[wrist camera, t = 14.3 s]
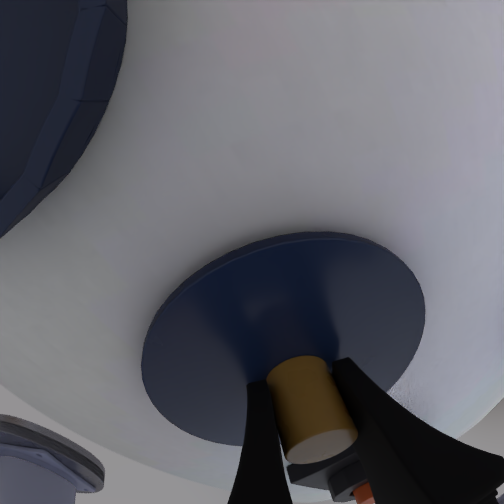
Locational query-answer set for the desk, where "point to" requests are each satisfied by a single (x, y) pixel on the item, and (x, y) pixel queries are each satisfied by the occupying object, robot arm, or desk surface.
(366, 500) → the button
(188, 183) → the desk surface
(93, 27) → the tin
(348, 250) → the tin lid
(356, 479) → the control block
